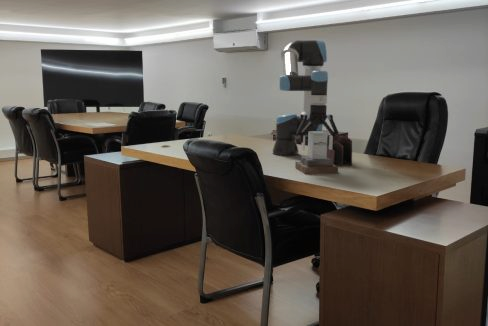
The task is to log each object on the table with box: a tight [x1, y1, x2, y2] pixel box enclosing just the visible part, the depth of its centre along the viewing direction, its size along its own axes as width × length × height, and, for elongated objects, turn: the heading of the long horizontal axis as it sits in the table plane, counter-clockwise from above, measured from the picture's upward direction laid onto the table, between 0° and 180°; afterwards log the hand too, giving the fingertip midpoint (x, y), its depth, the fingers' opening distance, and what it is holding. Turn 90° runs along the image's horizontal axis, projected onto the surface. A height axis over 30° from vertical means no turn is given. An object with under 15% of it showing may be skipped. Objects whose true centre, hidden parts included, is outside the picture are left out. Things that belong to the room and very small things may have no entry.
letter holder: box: [327, 135, 353, 167], centre depth 250 cm, size 10×20×14 cm, turn 8°
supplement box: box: [306, 131, 329, 159], centre depth 226 cm, size 7×7×13 cm
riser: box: [294, 155, 339, 175], centre depth 228 cm, size 16×16×6 cm
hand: (316, 149), depth 227 cm, fingers open, 13 cm apart
